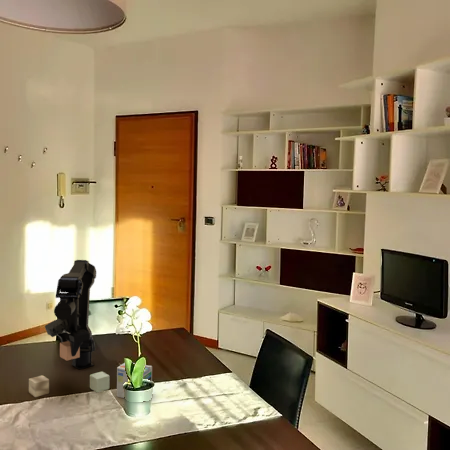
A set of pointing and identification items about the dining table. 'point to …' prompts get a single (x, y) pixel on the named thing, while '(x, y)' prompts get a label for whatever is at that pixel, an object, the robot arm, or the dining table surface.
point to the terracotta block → (67, 351)
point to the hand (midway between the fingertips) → (69, 354)
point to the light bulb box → (123, 377)
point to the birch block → (38, 386)
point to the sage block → (99, 381)
